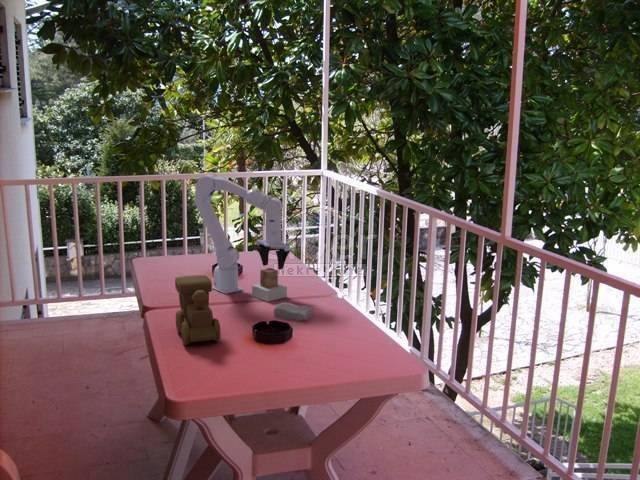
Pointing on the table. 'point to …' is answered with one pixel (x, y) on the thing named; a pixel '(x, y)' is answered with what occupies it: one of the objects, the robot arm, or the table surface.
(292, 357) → the table surface
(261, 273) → the walnut block
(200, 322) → the wooden toy train
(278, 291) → the plinth
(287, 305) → the stone block
